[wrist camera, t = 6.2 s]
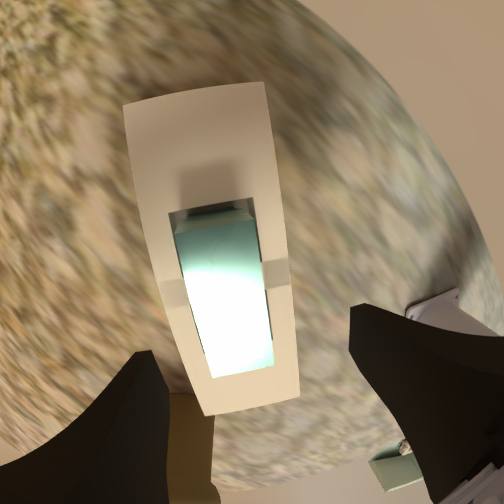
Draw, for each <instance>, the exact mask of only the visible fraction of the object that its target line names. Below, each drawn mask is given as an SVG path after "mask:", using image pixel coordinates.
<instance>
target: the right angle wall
mask: <svg viewBox="0 0 504 504" xmlns="http://www.w3.org/2000/svg"><path fill="white" fill-rule="evenodd" d="M368 463H369V464H370V466H371V468H372V470H373V471H374V473H375V475H376V477H377V478H378V480H379V482H380V483H381V485H382V487H383V489H384V491H385V492H388V491H392V490H395V489H397V488H400V487H403V486H406V485H409V484H412V483H414V482H417V481H419V480H422V479H423V475H422V472H421V470H420V468H419V465H418V463H417V461H416V458H415V456H414V454H413V452H412V450H411V447H410V445H409V443H408V441H407V439H402V440H399V441H397V442H395V443H393V444H391V445H389V446H387V447H385V448H383V449H382V450H380V451H379V452H378V453H377V454H376V455H375V456H374V457H373V458H372V459H371V460H369V461H368Z"/></svg>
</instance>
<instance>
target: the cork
mask: <svg viewBox="0 0 504 504" xmlns="http://www.w3.org/2000/svg"><path fill="white" fill-rule="evenodd" d="M169 397H170V424H169V437H168V451H167V485H168V496H169V503H170V504H221V500H220V495H219V493H218V491H217V489H216V486H215V485H213V484H212V483H211V466H212V449H213V434H214V419H215V415H211V416H205V415H204V413H203V411H202V408H201V406H200V404H199V401H198V399H197V397H196V396H194V395H191V394H184V393H172V394H169Z"/></svg>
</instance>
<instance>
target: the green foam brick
mask: <svg viewBox="0 0 504 504" xmlns="http://www.w3.org/2000/svg"><path fill="white" fill-rule="evenodd" d="M174 237H175V241H176V246H177V250H178V254H179V259H180V263H181V267H182V271H183V275H184V279H185V283H186V287H187V291H188V295H189V299H190V302H191V306H192V310H193V313H194V317H195V321H196V324H197V328H198V331H199V335H200V338H201V341H202V345H203V348H204V351H205V355H206V358H207V361H208V364H209V367H210V370H211V374H212V377H213V378H215V377H221V376H226V375H231V374H236V373H241V372H246V371H251V370H255V369H260V368H264V367H268V366H273V365H275V362H274V355H273V348H272V341H271V334H270V326H269V319H268V312H267V305H266V298H265V291H264V284H263V277H262V270H261V263H260V256H259V249H258V243H257V236H256V229H255V222H254V218H253V217H252V216H251V215H249V214H248V213H247V212H246V211H245V210H244V209H243V208H239V209H235V207H234V206H231V207H225V208H220V209H214V210H209V211H204V212H199V213H193V214H188V215H187V218H186V219H181V220H180V221H179V223H178V226H177V228H176V230H175V233H174Z"/></svg>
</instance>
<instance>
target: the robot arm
mask: <svg viewBox="0 0 504 504" xmlns="http://www.w3.org/2000/svg"><path fill="white" fill-rule="evenodd" d="M459 294H460V289H459V288H454V289H452V290H450V291H447V292H445V293H443V294H441V295H438V296H436V297H434V298H431V299H429V300H427V301H424V302H422V303H419V304H417V305H414V306H412V307H410V308H409V309H408V310H407V312H406V317H403V316H401V315H398V314H395V313H392V312H390V311H387V310H384V309H382V308H379V307H376V306H373V305H370V304H366V303H363V304H360V305H356V306H353V307H350V334H349V352H350V354H351V356H352V358H353V360H354V362H355V363H356V365H357V367H358V369H359V370H360V372H361V373H362V375H363V376H364V377H365V379H366V380H367V381H368V383H369V384H370V385H371V387H372V388H373V389H374V391H375V392H376V393H377V394H378V396H379V397H380V398H381V400H382V401H383V402H384V404H385V405H386V406H387V408H388V409H389V410H390V412H391V413H392V415H393V416H394V418H395V419H396V421H397V423H398V425H399V427H400V428H401V430H402V432H403V434H404V436H405V437H406V439H407V441H408V443H409V445H410V447H411V450H412V452H413V454H414V456H415V458H416V461H417V463H418V465H419V468H420V470H421V472H422V475H423V478H424V481H425V484H426V486H427V489H428V493H429V496H430V499H431V500H432V502H433V504H439V503H440V504H504V336H499V335H498V334H497V333H495V332H494V331H492V330H491V329H489V328H488V327H487V326H485V325H484V324H482V323H481V322H479V321H478V320H476V319H475V318H473V317H472V316H470V315H469V314H467V313H466V312H464V311H463V310H461V309H460V308H458V307H457V305H458V300H459ZM410 316H411V317H410ZM169 424H170V397H169V389H168V387H167V385H166V383H165V381H164V379H163V376H162V374H161V372H160V370H159V367H158V365H157V363H156V360H155V358H154V356H153V353H152V351H151V350H148V351H140V352H135V353H134V354H133V355H132V356H131V358H130V359H129V360H128V361H127V362H126V364H125V365H124V366H123V367H122V369H121V370H120V371H119V372H118V373H117V375H116V376H115V377H114V378H113V379H112V381H111V382H110V383H109V384H108V386H107V387H106V388H105V389H104V390H103V391H102V392H101V394H100V395H99V396H98V397H97V398H96V399H95V400H94V401H93V402H92V403H91V405H90V406H89V407H88V408H87V409H86V410H85V411H84V412H83V413H82V414H81V415H80V416H79V417H78V418H77V419H75V420H74V421H73V422H72V423H71V424H70V425H69V426H67V427H66V428H65V429H64V430H63V431H61V432H60V433H59V434H57V435H56V436H54V437H53V438H52V439H50V440H49V441H48V442H46V443H45V444H43V445H42V446H40V447H39V448H37V449H35V450H34V451H32V452H30V453H28V454H27V455H25V456H23V457H21V458H19V459H17V460H14V461H12V462H10V463H7V464H5V465H2V466H0V504H170V503H169V496H168V485H167V451H168V437H169ZM466 483H467V484H466ZM461 487H462V488H461ZM449 496H450V497H449ZM442 501H443V502H442Z"/></svg>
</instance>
